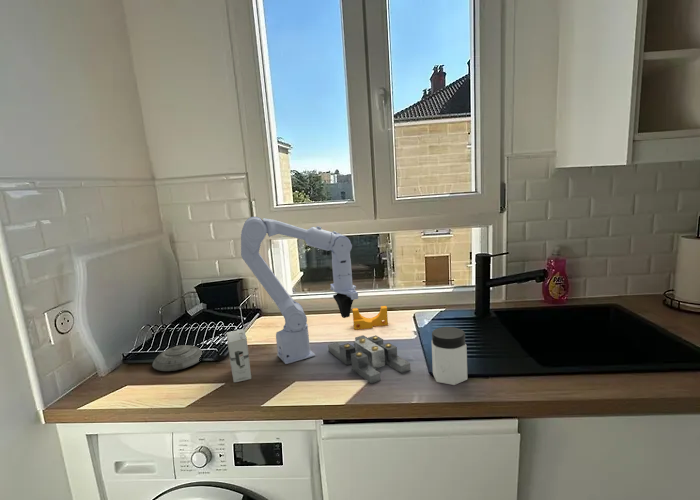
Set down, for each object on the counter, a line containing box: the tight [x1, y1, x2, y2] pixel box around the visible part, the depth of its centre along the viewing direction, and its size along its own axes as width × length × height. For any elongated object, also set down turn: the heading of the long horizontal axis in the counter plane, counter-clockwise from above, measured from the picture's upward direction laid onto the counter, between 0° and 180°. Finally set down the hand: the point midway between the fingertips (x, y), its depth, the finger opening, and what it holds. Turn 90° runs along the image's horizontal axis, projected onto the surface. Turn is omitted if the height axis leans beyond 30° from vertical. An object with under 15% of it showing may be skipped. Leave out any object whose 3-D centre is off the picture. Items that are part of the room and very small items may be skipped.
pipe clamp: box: [351, 305, 389, 331], centre depth 146 cm, size 12×4×6 cm, turn 91°
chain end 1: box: [327, 335, 384, 366], centre depth 125 cm, size 12×12×5 cm
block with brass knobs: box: [353, 337, 386, 370], centre depth 119 cm, size 4×10×6 cm, turn 28°
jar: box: [430, 326, 468, 386], centre depth 106 cm, size 9×8×12 cm
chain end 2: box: [351, 342, 411, 384], centre depth 113 cm, size 12×10×5 cm
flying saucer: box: [151, 344, 203, 372], centre depth 127 cm, size 15×15×6 cm
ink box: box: [226, 328, 252, 383], centre depth 116 cm, size 9×5×12 cm, turn 21°
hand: (345, 316), depth 128 cm, fingers closed
